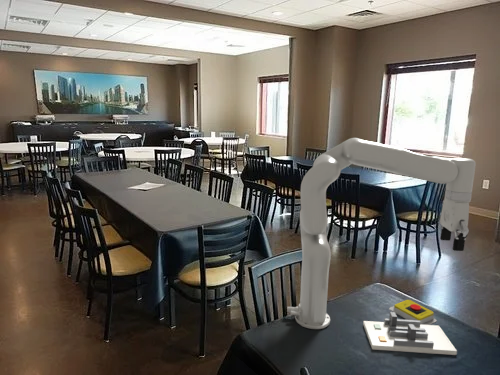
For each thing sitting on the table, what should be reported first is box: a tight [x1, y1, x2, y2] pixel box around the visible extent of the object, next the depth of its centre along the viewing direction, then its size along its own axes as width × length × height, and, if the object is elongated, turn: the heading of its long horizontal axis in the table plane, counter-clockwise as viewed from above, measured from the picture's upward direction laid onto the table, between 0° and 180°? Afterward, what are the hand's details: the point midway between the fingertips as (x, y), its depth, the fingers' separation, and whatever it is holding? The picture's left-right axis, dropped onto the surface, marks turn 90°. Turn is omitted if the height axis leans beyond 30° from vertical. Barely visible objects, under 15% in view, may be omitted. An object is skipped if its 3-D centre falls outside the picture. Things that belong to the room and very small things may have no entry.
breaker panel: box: [362, 317, 458, 356], centre depth 124 cm, size 26×14×3 cm, turn 85°
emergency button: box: [388, 299, 438, 325], centre depth 139 cm, size 9×4×15 cm
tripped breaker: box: [407, 324, 416, 340], centre depth 120 cm, size 2×3×5 cm, turn 175°
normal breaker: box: [388, 311, 398, 327], centre depth 127 cm, size 2×3×5 cm, turn 174°
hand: (451, 245), depth 124 cm, fingers open, 9 cm apart
